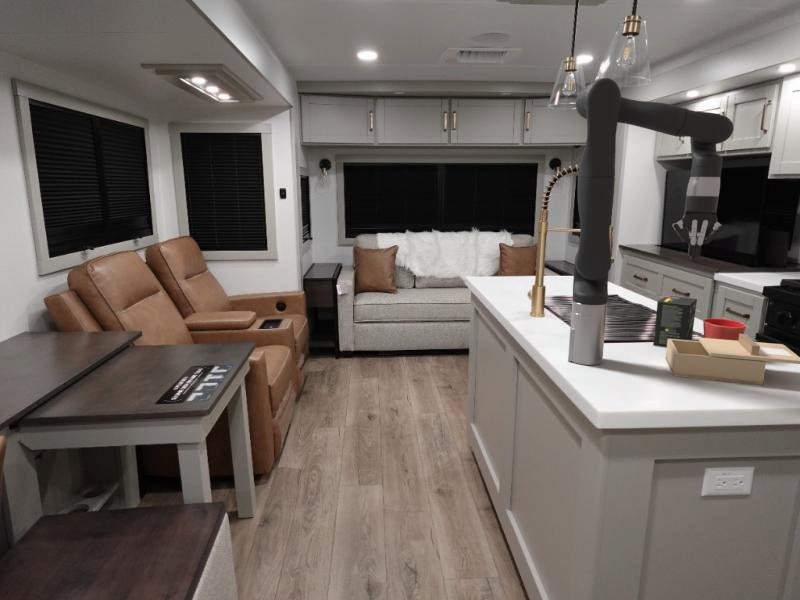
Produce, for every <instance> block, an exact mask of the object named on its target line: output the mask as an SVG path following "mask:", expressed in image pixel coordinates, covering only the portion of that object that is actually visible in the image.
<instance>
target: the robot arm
mask: <svg viewBox="0 0 800 600" xmlns="http://www.w3.org/2000/svg"><path fill="white" fill-rule="evenodd" d="M620 89H621V88H620V87H619V85H618V84H617V82H616V81H615V80H613V79H611V78H609V77H608V78H607V77H603V78H599V79H596V80H595V81H593V82H591V83H590V84H588V85H586V86H585V87H583V88H582V89H581V90H580V91H579V93H578V94H577V95H576V99H575V108H576V111H577V113H578V114H579V116H580V117H581V118H583V119H585V120H586V123H587V124H586V130H587V131H586V140H585V145H584V149H583V152H582V154H581V158H580V162H579V166H578V172H577V173H578V174H577V205H578V206H577V207H578V215H579V224H580V234H579V244H578V250H577V252H576V254H575V257H574V264H573V265H574V267H573V280H572V304H571V305H572V306H571V318H570V330H569V341H568V342H569V343H568V344H569V345H568V355H567V356H568V357H567V362H571V361H572V363H575V364H579V365H586V366H595V365H600V364H602V362H603V359H604V358H603V357H604V346H605V335H606V334H605V332H606V324H607V323H606V322H607V311H608V310H607V308H608V299H609V288H608V287H609V272H610V270H611V268H612V264H613V261H612V253H611V252H612V250H611V249H612V248H611V236H610V235H611V234H610V233H611V232H610V230H611V222H612V214H613V208H614V199H615V198H614V197H615V184H616V183H615V181H616V180H615V179H616V177H615V176H616V152H617V151H616V139H617V129H618V123H620V124H625V125H629V126H635V127H638V128H643V129H647V130H650V131H654V132H658V133H662V134H665V135H669V136H672V137H677V138H678V137H679V138H684V137H688V138H689V139H690V153H691V160H692V163H691V167H690V169H691V170H690V176H689V180H688V184H687V188H686V196H685V198H686V199H685V205H684V213H683V215H682V216H681V217H680V218H681V219H680V220H678V221H677V222H676V223H675V222H674V223H672V225H671V227H672V228H673V229H674V231H675V232H676V234H677V235H678V236H679V239H681V240H682V242H684V243H686V244H688V251H687V255H688V257H689V259H690V260H693V259H694V260H697V259H698V258H700V256H701V253H702V246H703V245H706V244H710V243H711V242H712V241H713V240H714V239H715V238H716V237H717V236H719V235H720V234H721V233H722V232H723V231H724V230H725V229H726V227H725V225H722V224H721V223H720V222H718V217H717V210H718V204H719V203H718V202H719V195H720V189H721V176H722V169H723V157H722V156H721V155H720V154H717V145H718V144H722V143H724V142H726V141H727V140H728V139H729V138H731V136H732V134H733V133H734V123H733V121H732V119H730V118H729V117H727V116H726V115H723V114H720V113H714V112H707V111H698V110H697V111H696V110H692V109H688V108H685V107H681V106H679V105H674V104H671V103H665V102H657V101H655V102H654V101H645V100H644V101H643V100H636V99H631V98H627V97H622V94H621V90H620ZM683 225H684V226H685V228H686V230H687V231H688V235H689V237H688V236H687V235H686V234H685V233H684V231H683V230H682V229H683V228H684V227H683ZM711 228H712V229H713V230H712V231H711V232H710V233H709V234H708V235H707V236H706V233H707V232H708V231H709V230H711ZM705 236H706V237H705Z"/></svg>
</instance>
